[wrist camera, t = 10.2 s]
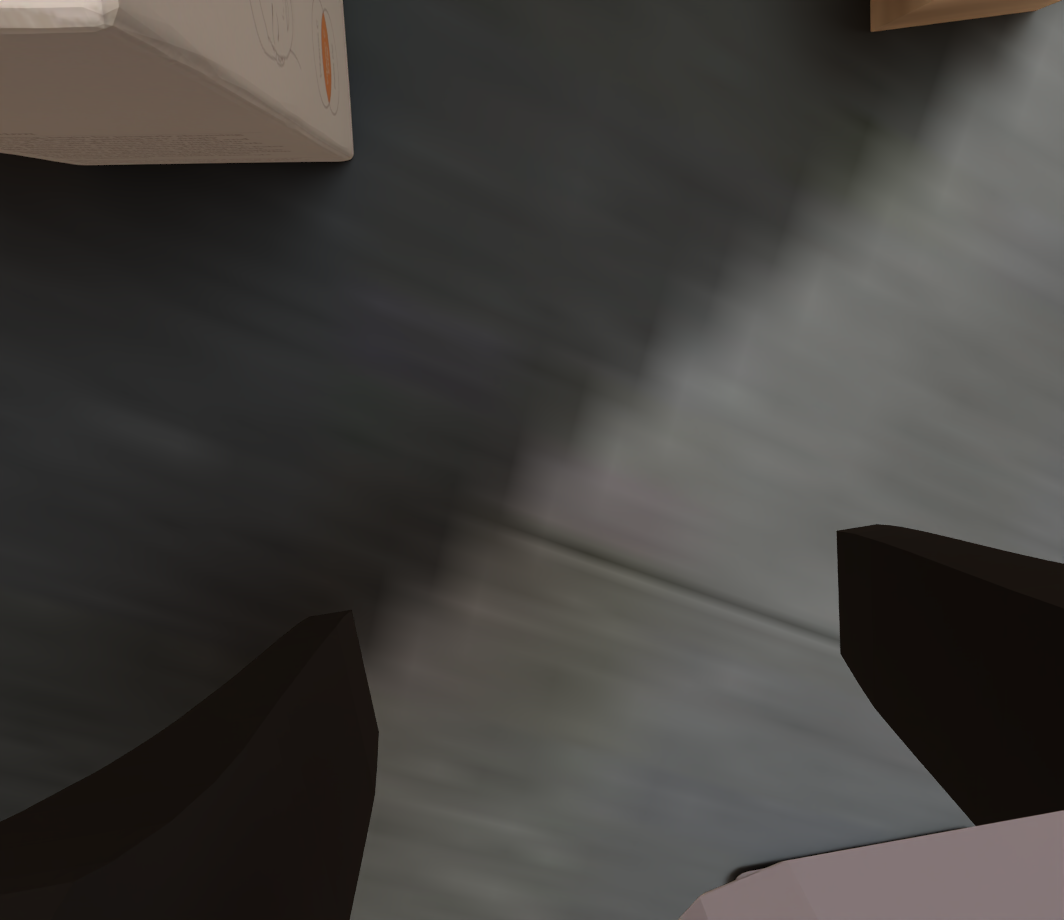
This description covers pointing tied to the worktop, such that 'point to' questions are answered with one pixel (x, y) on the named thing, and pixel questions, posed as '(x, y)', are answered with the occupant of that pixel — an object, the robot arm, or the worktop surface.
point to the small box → (174, 81)
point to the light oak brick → (943, 11)
